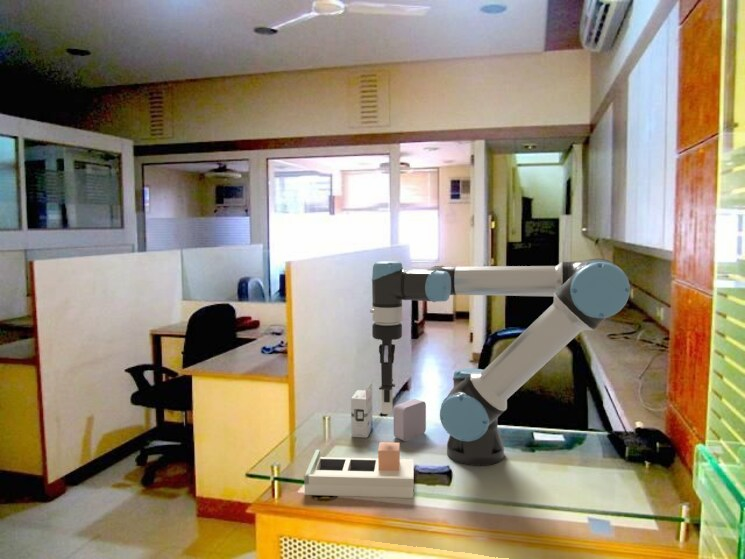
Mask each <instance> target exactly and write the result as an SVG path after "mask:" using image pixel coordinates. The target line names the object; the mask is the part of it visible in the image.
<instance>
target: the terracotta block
mask: <svg viewBox="0 0 745 559" xmlns="http://www.w3.org/2000/svg"><path fill="white" fill-rule="evenodd" d="M400 445H401V444H400V442H388V441H387V442H383V441H382V442H381V441H380V442H379V445H378V449H377V450H378V453H377V454H378V456H377V458H378V470H388V471H399V465H400V459H401V458H400V457H401V455H400V454H401V453H400V452H401V451H400V450H401V449H400V447H401V446H400Z"/></svg>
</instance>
